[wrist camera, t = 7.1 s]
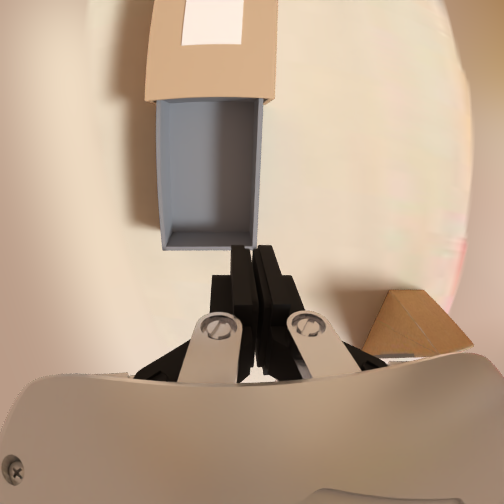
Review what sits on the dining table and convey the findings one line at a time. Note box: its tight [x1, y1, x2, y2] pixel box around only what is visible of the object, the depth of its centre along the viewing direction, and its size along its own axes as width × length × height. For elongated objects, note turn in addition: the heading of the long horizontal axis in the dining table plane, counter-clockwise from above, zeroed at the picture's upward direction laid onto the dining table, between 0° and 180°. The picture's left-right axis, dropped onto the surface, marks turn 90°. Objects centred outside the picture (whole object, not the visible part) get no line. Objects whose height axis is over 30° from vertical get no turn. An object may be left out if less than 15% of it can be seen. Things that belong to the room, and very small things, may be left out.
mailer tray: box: [156, 97, 263, 250], centre depth 25 cm, size 15×9×4 cm, turn 178°
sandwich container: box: [362, 290, 474, 358], centre depth 35 cm, size 9×15×15 cm, turn 173°
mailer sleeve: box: [145, 0, 278, 105], centre depth 19 cm, size 16×11×6 cm
